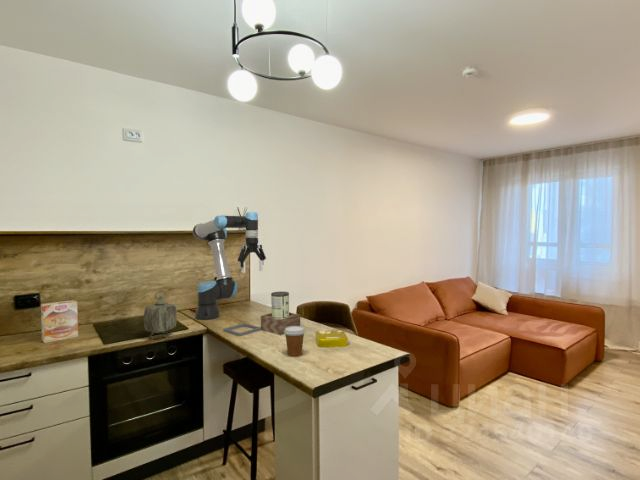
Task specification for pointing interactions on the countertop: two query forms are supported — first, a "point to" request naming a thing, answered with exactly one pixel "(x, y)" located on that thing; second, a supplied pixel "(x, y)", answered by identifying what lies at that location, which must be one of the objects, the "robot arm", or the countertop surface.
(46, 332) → the coffeecake box
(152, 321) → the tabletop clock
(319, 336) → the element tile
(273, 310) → the coffee can
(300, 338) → the disposable coffee cup
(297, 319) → the block
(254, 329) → the gray square frame
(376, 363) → the countertop surface
